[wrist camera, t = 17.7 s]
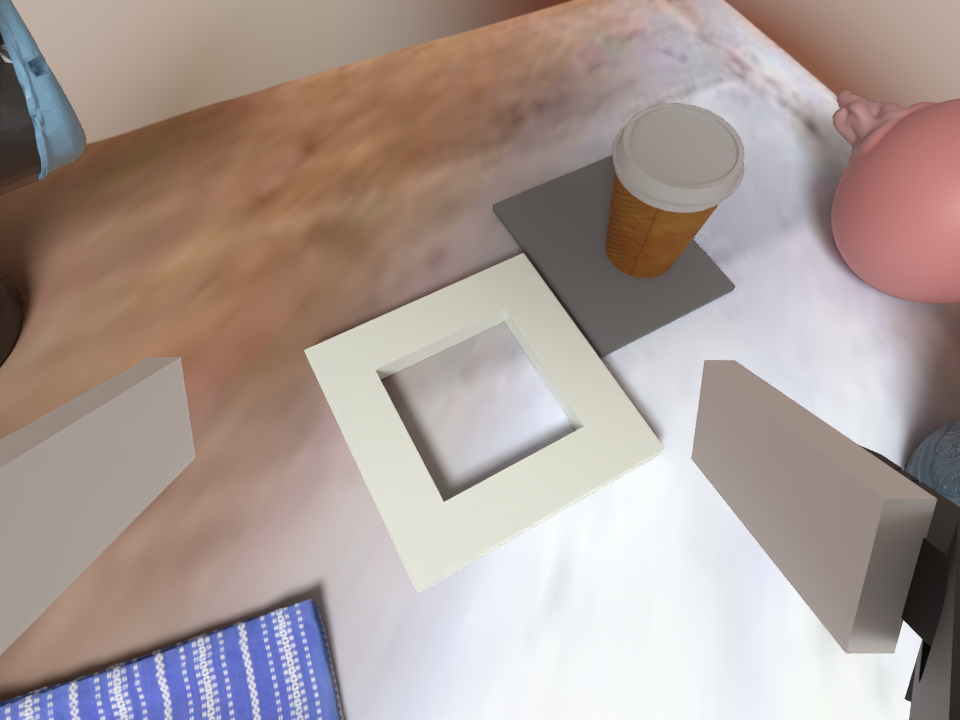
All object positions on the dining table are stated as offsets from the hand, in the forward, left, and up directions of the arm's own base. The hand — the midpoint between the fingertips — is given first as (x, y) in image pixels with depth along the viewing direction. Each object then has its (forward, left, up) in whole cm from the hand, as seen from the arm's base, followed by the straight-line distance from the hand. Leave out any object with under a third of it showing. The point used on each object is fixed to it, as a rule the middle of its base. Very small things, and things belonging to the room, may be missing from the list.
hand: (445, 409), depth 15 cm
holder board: (-10, +7, -28) cm, 31 cm away
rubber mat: (-18, +25, -28) cm, 42 cm away
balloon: (-7, +46, -29) cm, 54 cm away
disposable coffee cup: (-16, +27, -28) cm, 42 cm away
